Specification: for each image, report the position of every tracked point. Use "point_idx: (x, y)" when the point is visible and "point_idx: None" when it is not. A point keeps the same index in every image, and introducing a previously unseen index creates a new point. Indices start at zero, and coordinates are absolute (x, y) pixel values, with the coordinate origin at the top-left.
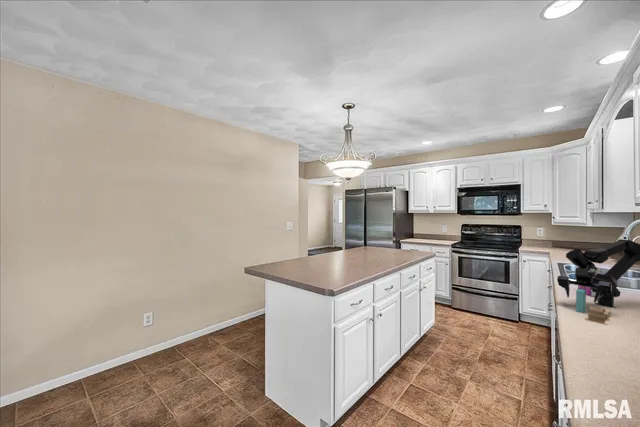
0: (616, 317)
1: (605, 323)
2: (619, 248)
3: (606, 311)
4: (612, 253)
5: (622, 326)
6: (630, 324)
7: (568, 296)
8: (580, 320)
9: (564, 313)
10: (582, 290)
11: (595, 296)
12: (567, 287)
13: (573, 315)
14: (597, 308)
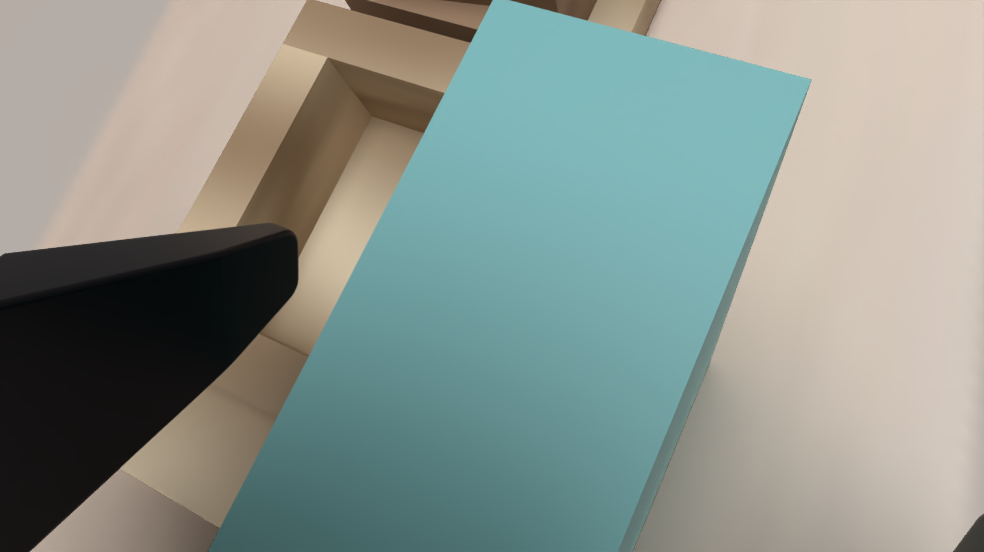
0: (92, 496)
1: None
2: None
3: (233, 194)
4: None
5: (241, 56)
6: (95, 205)
7: (971, 542)
8: (718, 8)
9: (929, 291)
10: (469, 217)
11: (146, 264)
12: None
13: (774, 240)
14: (302, 357)
